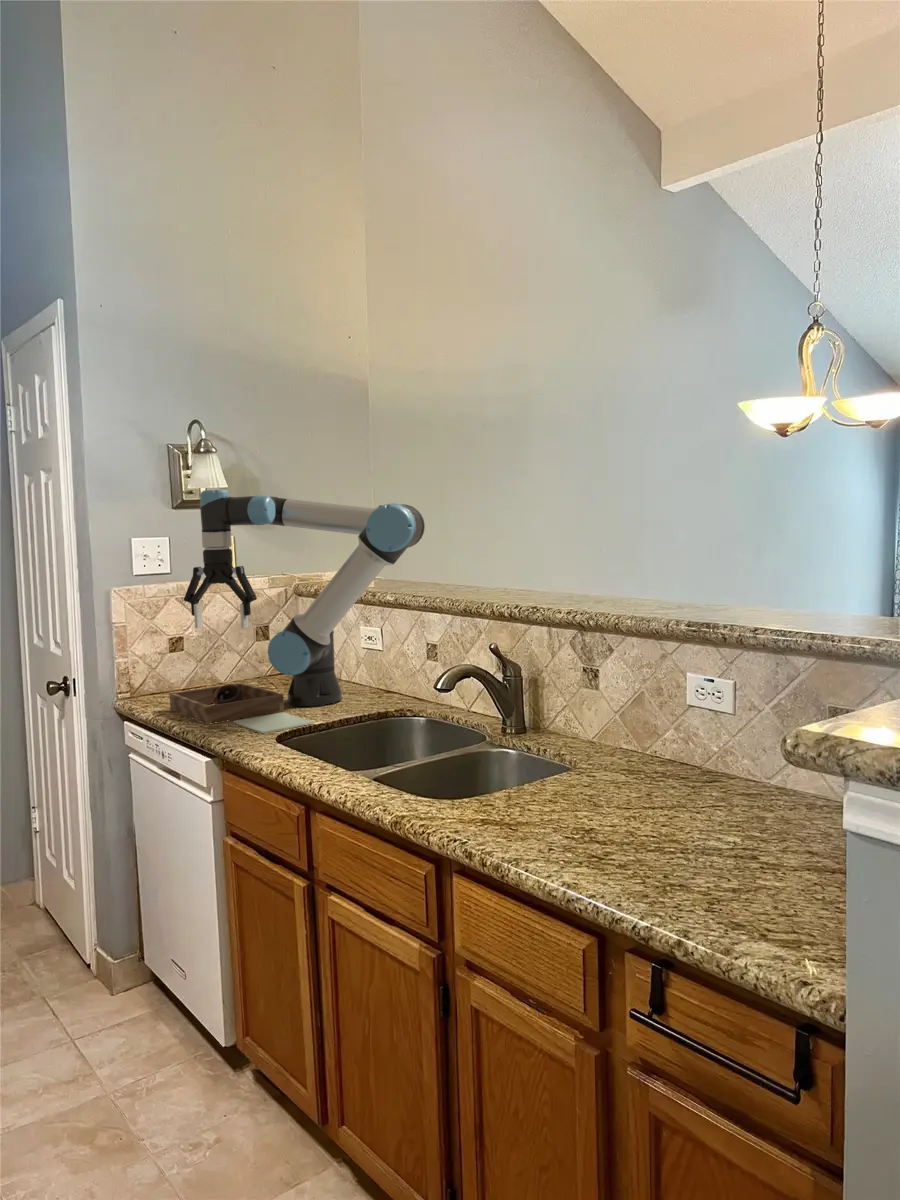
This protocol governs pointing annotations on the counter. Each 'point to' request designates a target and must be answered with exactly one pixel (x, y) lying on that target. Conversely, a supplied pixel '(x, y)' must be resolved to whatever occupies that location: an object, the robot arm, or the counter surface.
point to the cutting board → (272, 722)
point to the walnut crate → (226, 704)
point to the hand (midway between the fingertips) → (221, 627)
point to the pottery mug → (227, 694)
